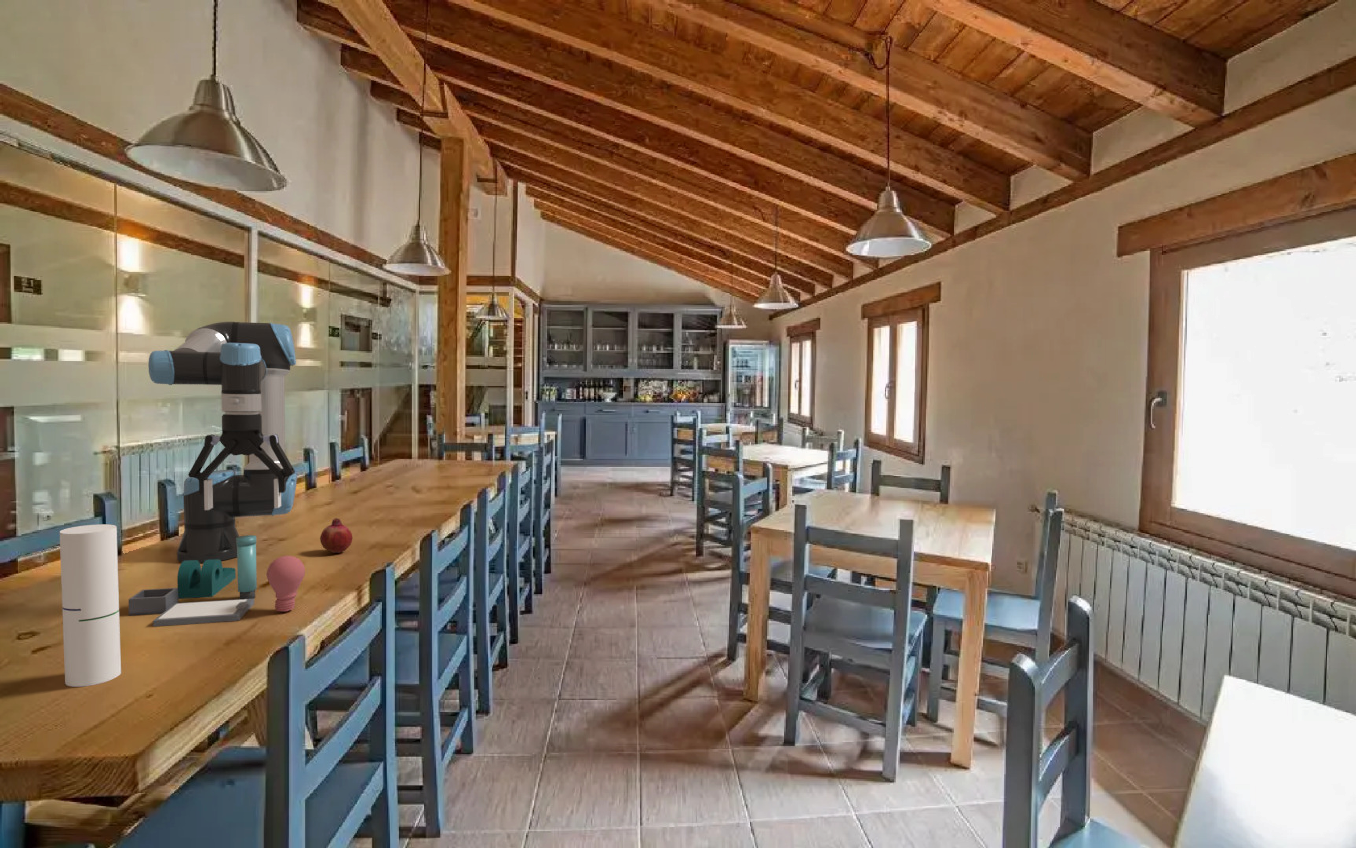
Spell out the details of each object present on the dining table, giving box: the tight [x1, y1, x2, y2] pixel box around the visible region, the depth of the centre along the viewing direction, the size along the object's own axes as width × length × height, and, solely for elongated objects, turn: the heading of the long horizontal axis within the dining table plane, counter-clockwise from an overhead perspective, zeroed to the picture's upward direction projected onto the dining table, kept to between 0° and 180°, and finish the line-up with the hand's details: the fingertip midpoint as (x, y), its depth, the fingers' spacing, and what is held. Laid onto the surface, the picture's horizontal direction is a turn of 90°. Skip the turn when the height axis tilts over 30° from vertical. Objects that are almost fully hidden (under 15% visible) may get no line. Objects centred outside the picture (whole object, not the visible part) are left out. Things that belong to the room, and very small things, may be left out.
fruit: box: [319, 517, 353, 554], centre depth 199 cm, size 8×8×10 cm
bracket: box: [176, 559, 237, 600], centre depth 166 cm, size 18×7×8 cm, turn 15°
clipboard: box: [152, 598, 255, 627], centre depth 147 cm, size 11×15×2 cm
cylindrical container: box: [59, 523, 122, 688], centre depth 116 cm, size 7×7×25 cm
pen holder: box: [128, 587, 179, 617], centre depth 150 cm, size 7×7×4 cm
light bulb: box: [266, 555, 306, 613], centre depth 150 cm, size 7×7×12 cm
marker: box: [236, 534, 258, 600], centre depth 158 cm, size 4×4×14 cm
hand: (243, 508), depth 157 cm, fingers open, 13 cm apart
